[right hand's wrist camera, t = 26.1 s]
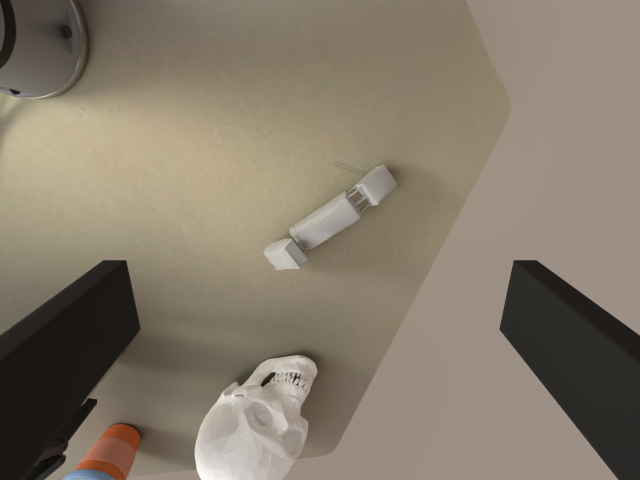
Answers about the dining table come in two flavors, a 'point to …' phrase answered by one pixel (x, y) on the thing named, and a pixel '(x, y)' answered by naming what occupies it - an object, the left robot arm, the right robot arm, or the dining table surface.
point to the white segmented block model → (329, 220)
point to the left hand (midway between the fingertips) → (87, 364)
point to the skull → (257, 424)
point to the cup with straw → (109, 455)
